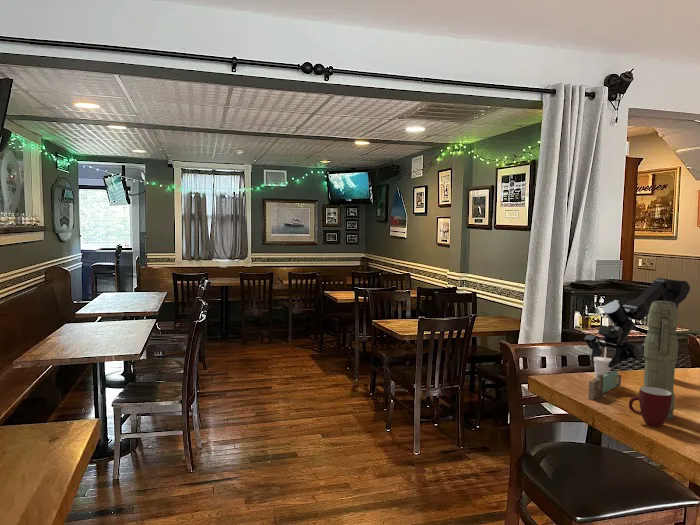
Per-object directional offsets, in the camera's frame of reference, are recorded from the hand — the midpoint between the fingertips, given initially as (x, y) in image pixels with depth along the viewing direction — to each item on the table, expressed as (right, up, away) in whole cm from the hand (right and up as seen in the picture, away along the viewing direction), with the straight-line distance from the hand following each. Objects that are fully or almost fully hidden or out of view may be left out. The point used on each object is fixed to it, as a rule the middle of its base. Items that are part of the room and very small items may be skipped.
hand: (600, 364), depth 181 cm
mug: (-3, -11, -34) cm, 35 cm away
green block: (+2, -8, -3) cm, 9 cm away
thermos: (+5, -10, -25) cm, 28 cm away
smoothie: (+1, -8, +1) cm, 8 cm away
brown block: (-1, -9, -5) cm, 10 cm away
